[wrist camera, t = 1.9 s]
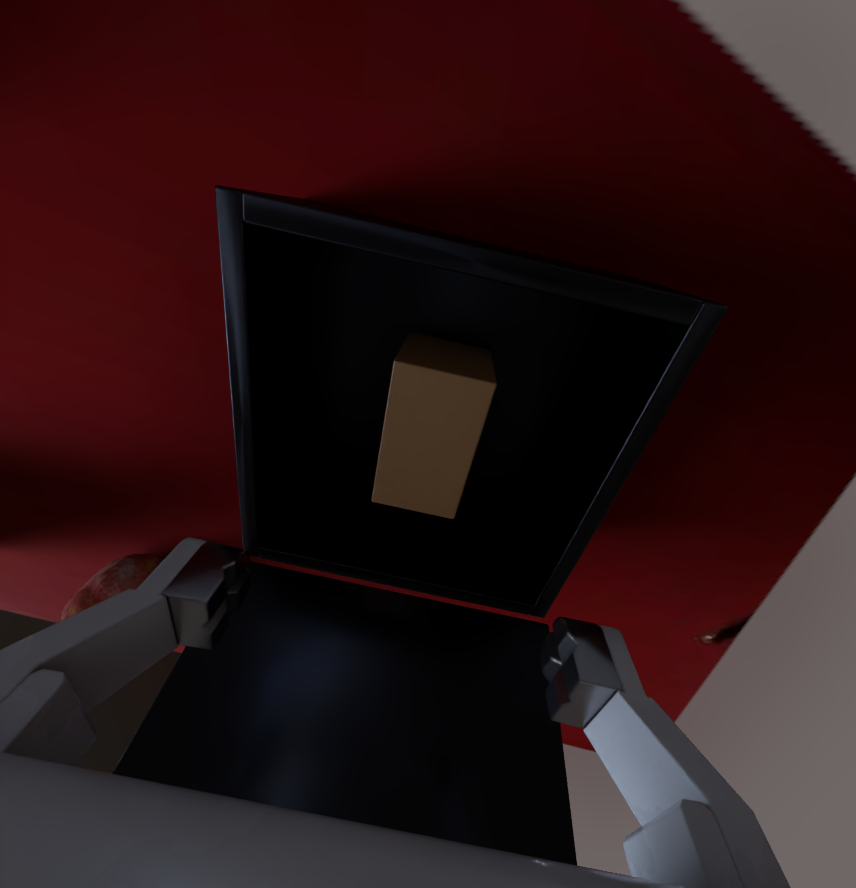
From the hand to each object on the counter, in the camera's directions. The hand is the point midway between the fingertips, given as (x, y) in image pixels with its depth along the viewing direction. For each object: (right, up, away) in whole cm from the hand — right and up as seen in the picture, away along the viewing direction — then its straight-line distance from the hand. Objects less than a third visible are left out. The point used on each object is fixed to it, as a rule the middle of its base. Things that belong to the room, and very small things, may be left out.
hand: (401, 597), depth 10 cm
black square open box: (+1, +6, +11) cm, 12 cm away
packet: (+1, +6, +10) cm, 12 cm away
